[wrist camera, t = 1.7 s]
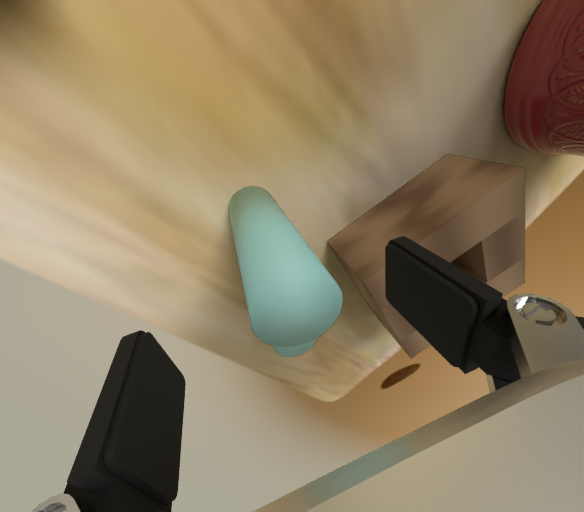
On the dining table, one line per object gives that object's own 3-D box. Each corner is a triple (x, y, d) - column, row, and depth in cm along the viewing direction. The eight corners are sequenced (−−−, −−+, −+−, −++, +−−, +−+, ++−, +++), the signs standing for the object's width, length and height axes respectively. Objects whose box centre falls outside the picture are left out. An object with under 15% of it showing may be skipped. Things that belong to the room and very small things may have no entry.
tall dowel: (269, 180, 17) (338, 258, 8) (280, 223, 19) (346, 327, 10) (221, 194, 17) (236, 293, 8) (237, 237, 19) (265, 358, 9)
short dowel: (294, 279, 22) (313, 318, 18) (300, 306, 24) (320, 346, 20) (257, 292, 22) (269, 334, 17) (267, 318, 23) (280, 362, 19)
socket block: (447, 153, 20) (525, 168, 15) (466, 251, 27) (524, 282, 22) (327, 241, 21) (363, 281, 16) (374, 314, 28) (410, 358, 23)
